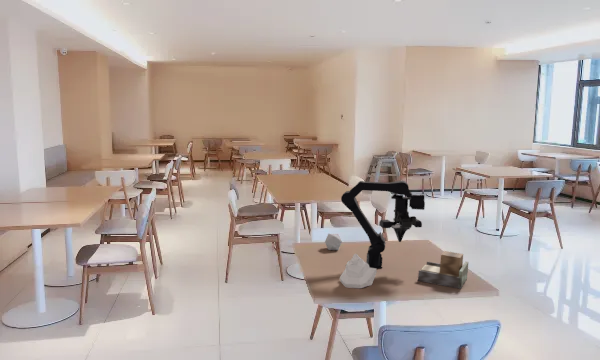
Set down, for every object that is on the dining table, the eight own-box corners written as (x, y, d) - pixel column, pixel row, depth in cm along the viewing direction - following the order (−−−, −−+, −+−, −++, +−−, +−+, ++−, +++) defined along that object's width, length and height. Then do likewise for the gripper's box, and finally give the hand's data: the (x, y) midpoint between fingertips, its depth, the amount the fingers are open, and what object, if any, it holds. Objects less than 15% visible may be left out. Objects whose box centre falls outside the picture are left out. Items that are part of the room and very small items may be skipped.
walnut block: (439, 272, 211) (441, 254, 210) (443, 268, 217) (444, 250, 216) (458, 276, 207) (460, 257, 206) (461, 271, 213) (463, 254, 212)
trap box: (418, 280, 211) (419, 264, 210) (426, 270, 225) (427, 255, 224) (460, 288, 203) (462, 271, 202) (467, 278, 217) (468, 261, 216)
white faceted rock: (373, 294, 198) (371, 263, 193) (337, 292, 202) (334, 262, 197) (377, 277, 209) (375, 248, 204) (342, 275, 213) (339, 247, 208)
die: (336, 254, 249) (346, 237, 251) (321, 244, 250) (331, 228, 252) (334, 255, 258) (344, 239, 260) (320, 245, 259) (330, 230, 261)
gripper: (388, 212, 213) (386, 247, 215) (428, 211, 216) (426, 245, 218) (379, 207, 224) (378, 240, 226) (417, 207, 227) (415, 239, 229)
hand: (399, 241), depth 225 cm, fingers closed
